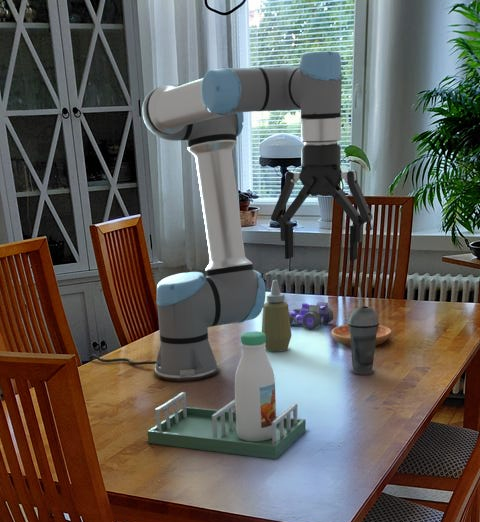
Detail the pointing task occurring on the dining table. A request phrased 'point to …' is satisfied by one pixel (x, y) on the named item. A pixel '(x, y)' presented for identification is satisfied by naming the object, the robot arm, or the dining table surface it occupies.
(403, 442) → the dining table surface
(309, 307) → the toy race car
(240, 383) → the milk bottle
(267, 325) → the squeeze bottle
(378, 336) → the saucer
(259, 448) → the drying rack
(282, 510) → the dining table surface
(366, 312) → the beverage cup
